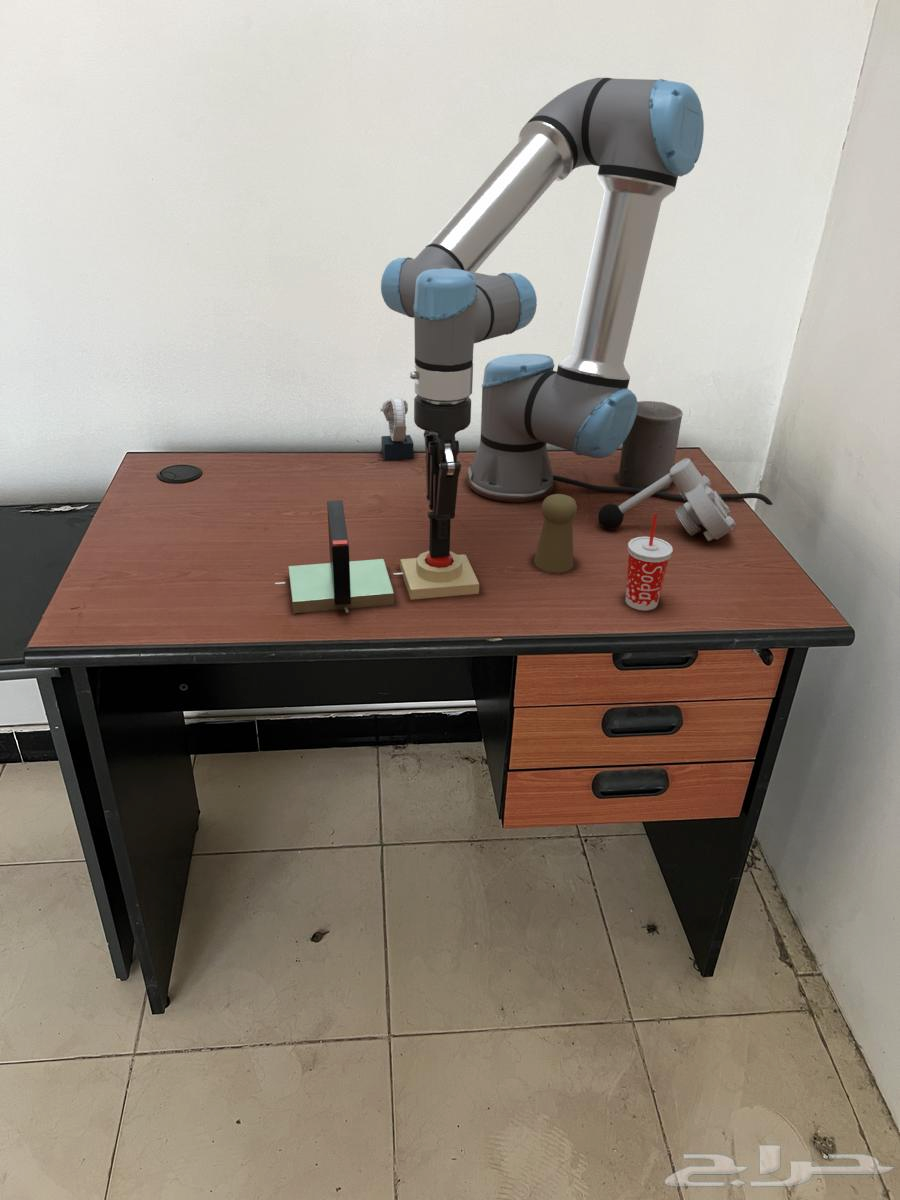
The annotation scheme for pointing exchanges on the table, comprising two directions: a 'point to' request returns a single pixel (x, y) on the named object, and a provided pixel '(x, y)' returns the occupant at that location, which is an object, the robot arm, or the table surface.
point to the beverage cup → (646, 570)
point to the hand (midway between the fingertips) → (439, 554)
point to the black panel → (339, 552)
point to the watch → (396, 431)
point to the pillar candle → (650, 445)
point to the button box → (438, 577)
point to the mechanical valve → (696, 511)
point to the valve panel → (317, 587)
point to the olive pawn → (556, 534)
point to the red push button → (439, 561)
